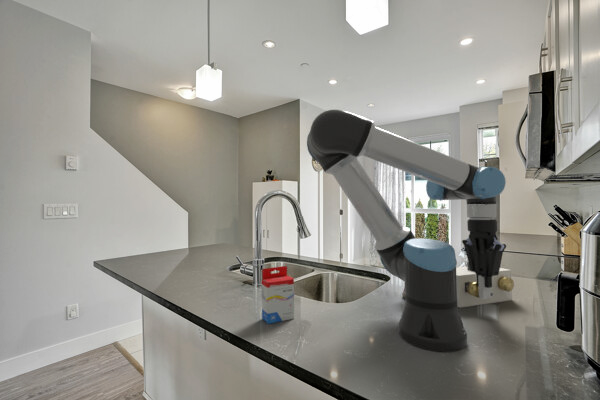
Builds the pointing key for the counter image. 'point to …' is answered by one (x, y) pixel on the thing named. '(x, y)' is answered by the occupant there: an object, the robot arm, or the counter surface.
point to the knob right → (505, 284)
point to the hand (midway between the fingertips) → (484, 297)
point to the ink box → (277, 295)
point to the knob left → (472, 289)
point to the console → (469, 276)
